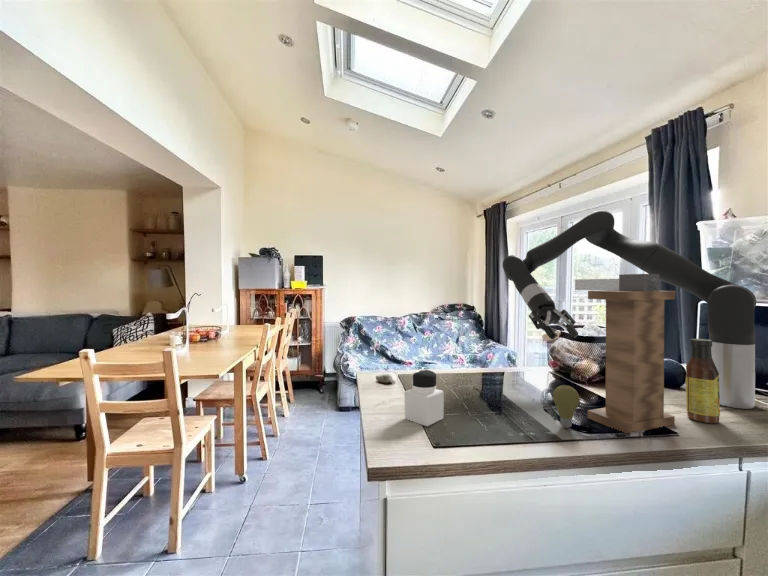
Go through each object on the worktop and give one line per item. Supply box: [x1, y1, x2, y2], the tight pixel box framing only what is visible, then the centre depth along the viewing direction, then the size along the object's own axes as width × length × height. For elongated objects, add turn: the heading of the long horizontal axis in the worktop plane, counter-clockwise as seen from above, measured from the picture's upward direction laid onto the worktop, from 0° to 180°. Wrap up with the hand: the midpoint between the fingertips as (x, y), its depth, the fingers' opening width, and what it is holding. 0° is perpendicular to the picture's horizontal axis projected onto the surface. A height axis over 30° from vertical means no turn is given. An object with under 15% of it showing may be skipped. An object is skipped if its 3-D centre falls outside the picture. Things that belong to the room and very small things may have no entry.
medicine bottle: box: [404, 369, 445, 427], centre depth 90 cm, size 7×7×12 cm
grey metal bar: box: [574, 273, 660, 291], centre depth 92 cm, size 5×20×4 cm, turn 19°
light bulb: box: [552, 384, 580, 429], centre depth 84 cm, size 6×6×10 cm
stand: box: [587, 290, 676, 434], centre depth 87 cm, size 16×10×32 cm, turn 109°
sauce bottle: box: [685, 338, 721, 424], centre depth 89 cm, size 7×6×20 cm
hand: (565, 337), depth 110 cm, fingers open, 8 cm apart
